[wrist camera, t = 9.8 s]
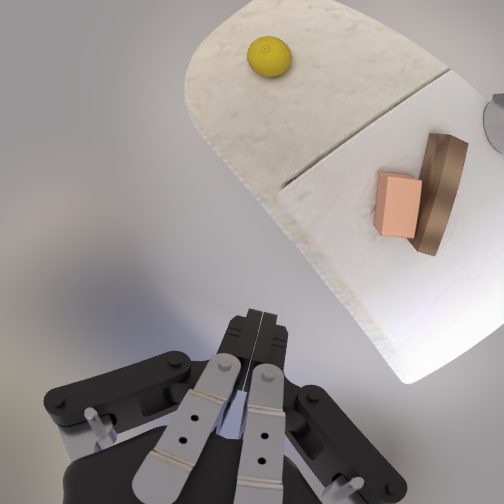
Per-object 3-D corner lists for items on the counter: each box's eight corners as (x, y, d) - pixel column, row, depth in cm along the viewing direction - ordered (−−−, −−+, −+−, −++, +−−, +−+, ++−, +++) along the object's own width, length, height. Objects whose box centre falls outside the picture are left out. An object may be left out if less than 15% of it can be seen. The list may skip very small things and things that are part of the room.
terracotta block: (378, 171, 37) (387, 176, 32) (409, 175, 36) (422, 180, 31) (373, 224, 40) (381, 235, 35) (403, 226, 39) (413, 238, 35)
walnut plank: (429, 133, 33) (450, 134, 26) (445, 140, 32) (468, 143, 26) (402, 233, 39) (417, 251, 33) (418, 238, 39) (434, 256, 33)
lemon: (247, 55, 33) (234, 38, 26) (284, 42, 32) (278, 22, 24) (261, 87, 35) (251, 76, 28) (299, 74, 33) (297, 60, 26)
